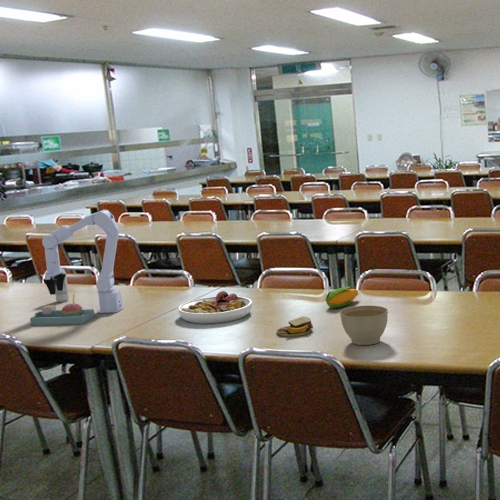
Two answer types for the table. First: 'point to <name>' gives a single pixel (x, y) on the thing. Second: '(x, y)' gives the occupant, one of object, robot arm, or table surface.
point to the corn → (340, 297)
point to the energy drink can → (62, 295)
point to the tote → (62, 318)
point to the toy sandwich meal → (296, 327)
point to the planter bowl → (364, 323)
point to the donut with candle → (72, 309)
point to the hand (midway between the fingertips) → (56, 292)
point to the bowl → (215, 309)
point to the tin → (49, 311)
